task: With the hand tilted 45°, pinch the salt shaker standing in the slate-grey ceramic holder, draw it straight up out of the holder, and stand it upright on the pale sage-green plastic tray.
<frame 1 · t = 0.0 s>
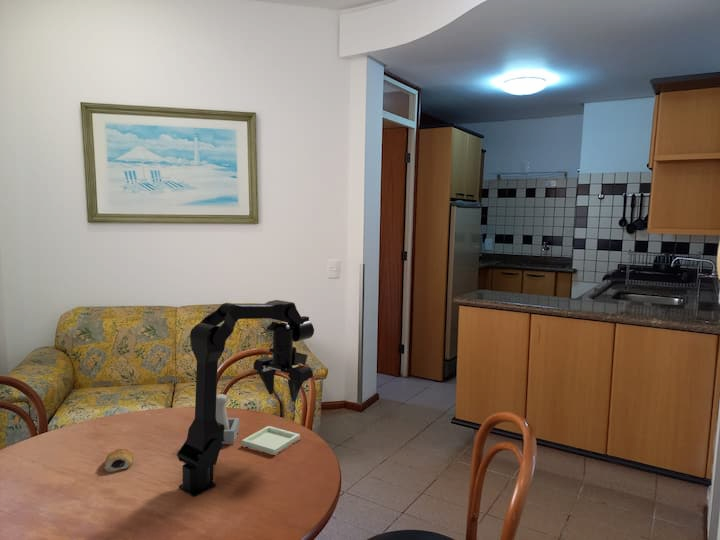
hand: (282, 397, 140), 15 cm above the table, tool pointing down, fingers open, 9 cm apart
holder: (219, 437, 146), on the table
salt shaker: (219, 438, 146), resting in holder
tray: (271, 443, 143), on the table
pastry: (118, 465, 129), on the table
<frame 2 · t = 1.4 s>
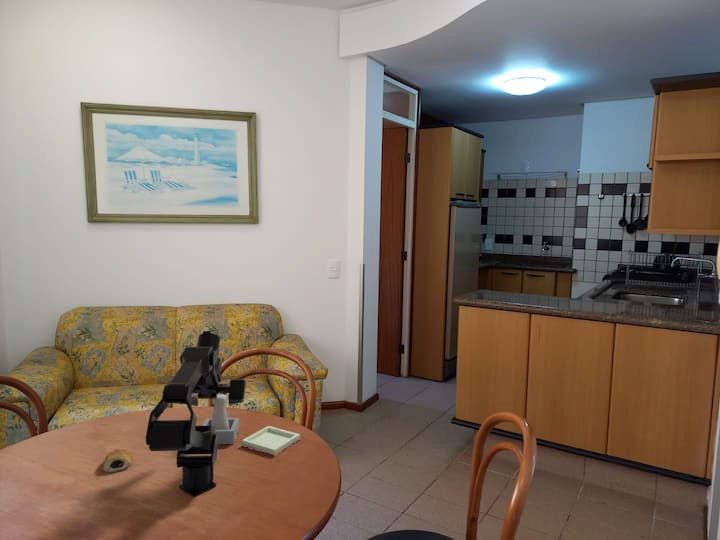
hand: (214, 404, 137), 13 cm above the table, tool tilted 45°, fingers open, 9 cm apart
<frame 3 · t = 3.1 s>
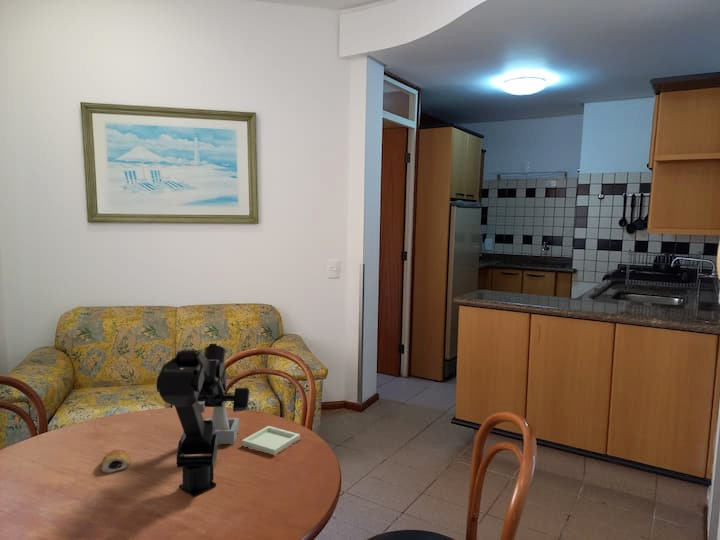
hand: (219, 411, 145), 8 cm above the table, tool tilted 45°, fingers open, 9 cm apart
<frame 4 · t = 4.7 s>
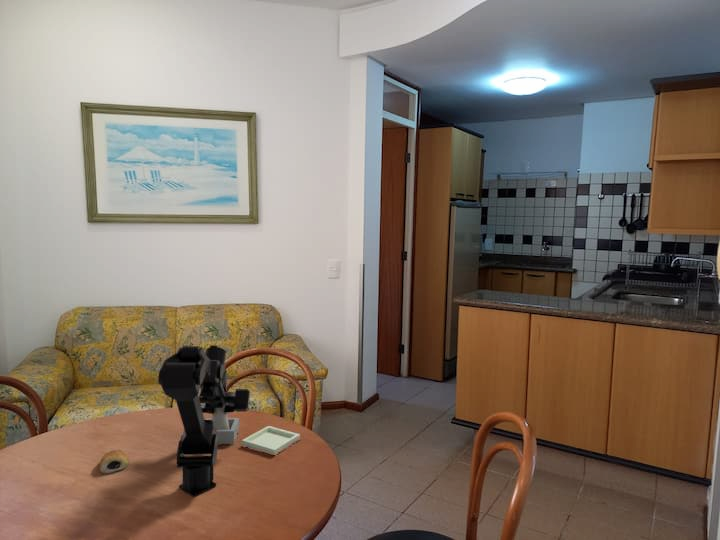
hand: (220, 412, 146), 8 cm above the table, tool tilted 45°, fingers closed on salt shaker, 3 cm apart
salt shaker: (219, 438, 146), resting in holder, touching gripper
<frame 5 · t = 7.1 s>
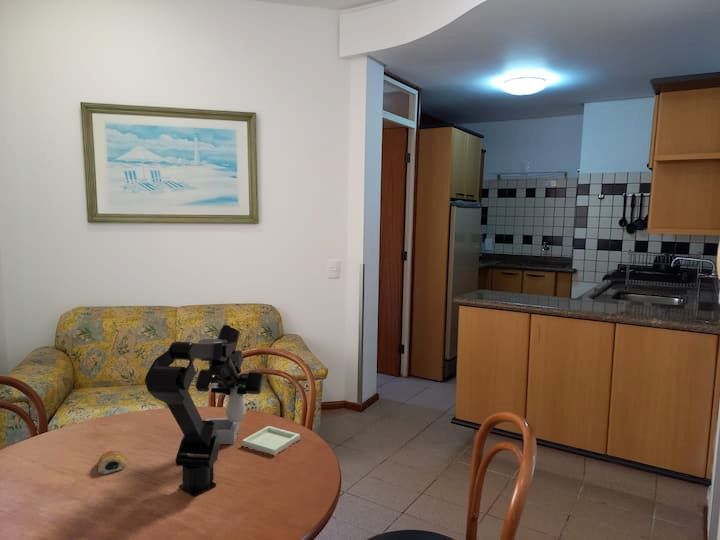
hand: (236, 394, 146), 13 cm above the table, tool tilted 45°, fingers closed on salt shaker, 3 cm apart
salt shaker: (235, 420, 146), point 5 cm above the table, touching gripper
when the fingers open (10 cm above the table, at t = 9.6 s): salt shaker stays where it is, resting on tray.
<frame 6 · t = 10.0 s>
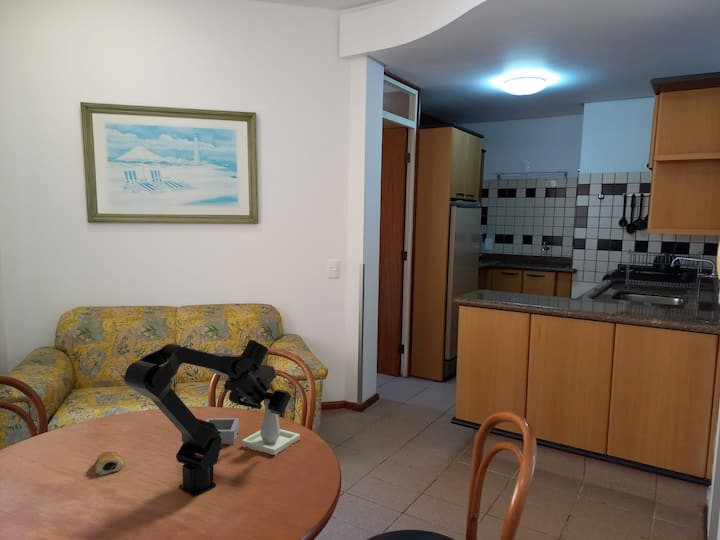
hand: (272, 410, 143), 10 cm above the table, tool tilted 45°, fingers open, 8 cm apart
salt shaker: (270, 441, 143), point 1 cm above the table, touching tray
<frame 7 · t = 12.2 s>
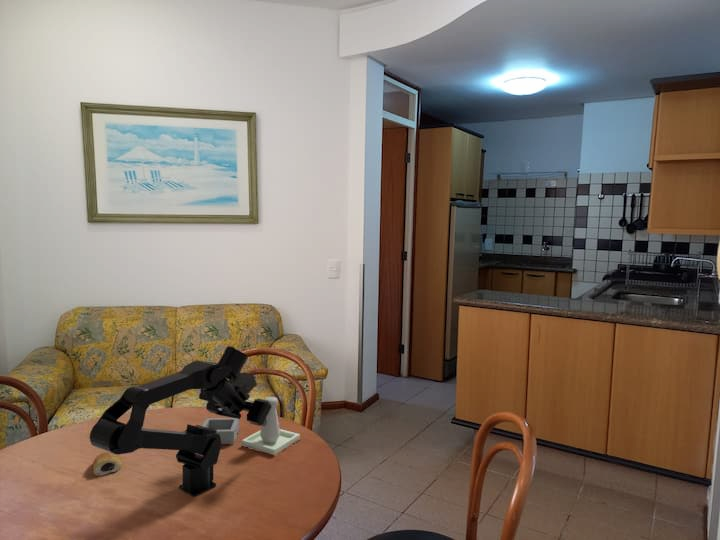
hand: (252, 420, 135), 10 cm above the table, tool tilted 45°, fingers open, 9 cm apart
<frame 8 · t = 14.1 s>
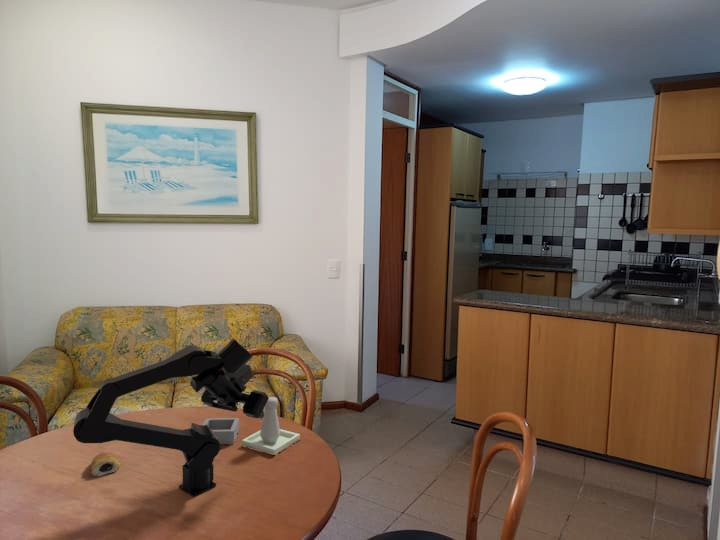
hand: (249, 413, 130), 14 cm above the table, tool tilted 45°, fingers open, 9 cm apart
at the end: salt shaker 0.4 cm off-centre on the tray, point 0.6 cm above the tray's base; salt shaker tilted 0°; the gripper is holding nothing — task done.
